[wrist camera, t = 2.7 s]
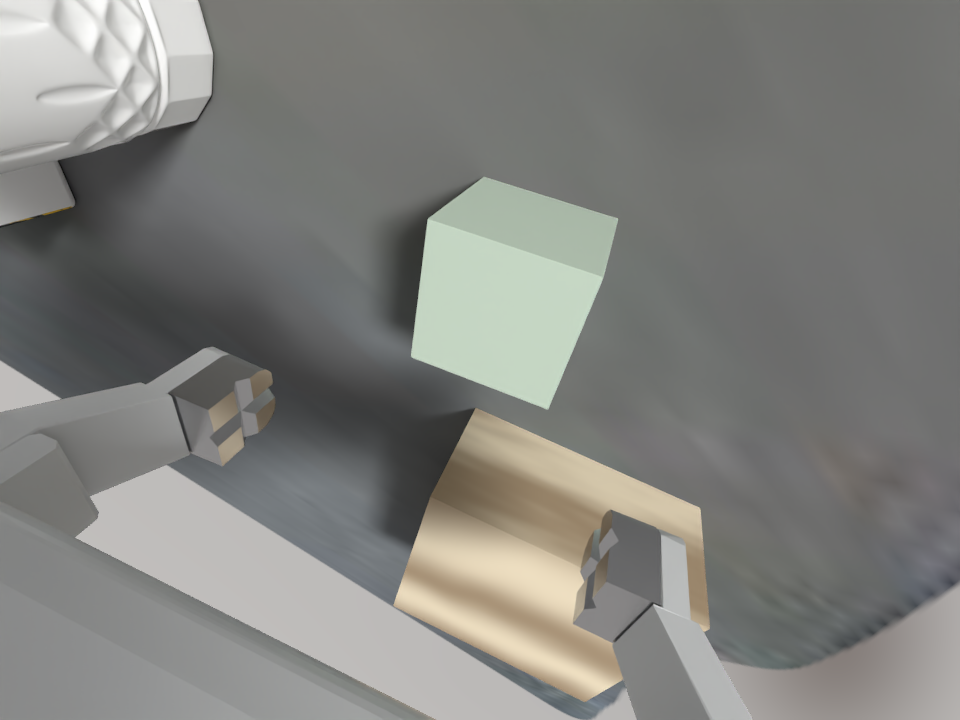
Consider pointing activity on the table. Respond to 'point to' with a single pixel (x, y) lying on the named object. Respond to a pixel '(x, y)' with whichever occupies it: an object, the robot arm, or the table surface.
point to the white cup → (97, 74)
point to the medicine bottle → (33, 193)
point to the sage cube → (508, 287)
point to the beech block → (530, 551)
